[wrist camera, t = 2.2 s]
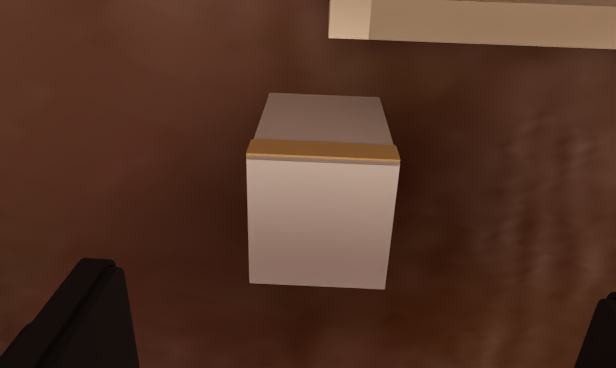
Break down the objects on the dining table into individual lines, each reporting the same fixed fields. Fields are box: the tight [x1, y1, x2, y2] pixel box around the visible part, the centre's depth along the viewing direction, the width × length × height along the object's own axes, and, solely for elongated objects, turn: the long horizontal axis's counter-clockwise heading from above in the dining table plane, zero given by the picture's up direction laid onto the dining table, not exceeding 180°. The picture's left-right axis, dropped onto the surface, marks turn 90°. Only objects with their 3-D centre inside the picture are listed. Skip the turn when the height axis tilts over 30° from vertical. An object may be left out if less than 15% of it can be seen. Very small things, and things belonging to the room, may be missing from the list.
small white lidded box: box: [246, 93, 400, 289], centre depth 17 cm, size 4×4×6 cm
